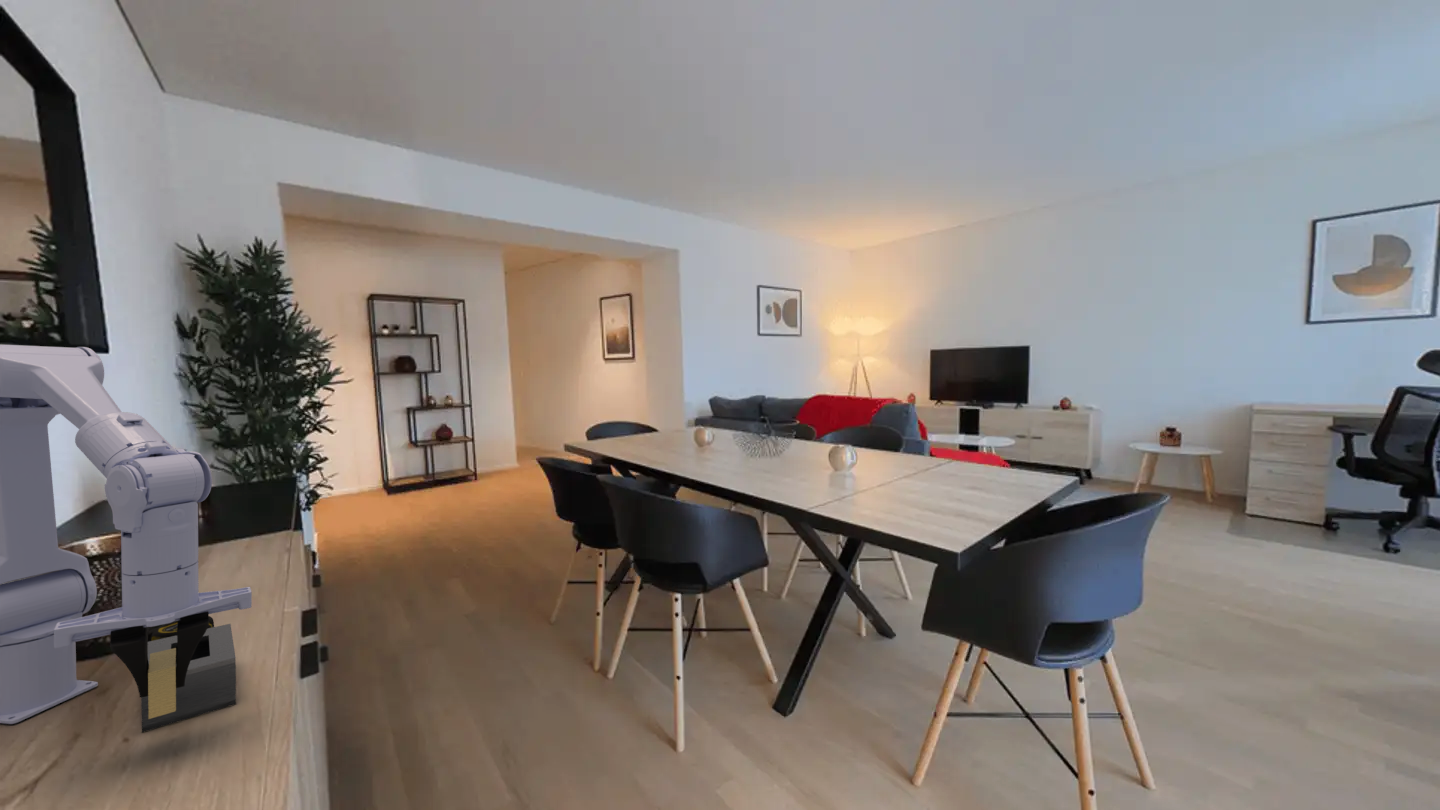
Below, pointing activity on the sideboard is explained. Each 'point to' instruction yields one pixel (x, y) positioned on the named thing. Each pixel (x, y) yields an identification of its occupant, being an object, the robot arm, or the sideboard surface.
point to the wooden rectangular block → (162, 683)
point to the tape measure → (169, 630)
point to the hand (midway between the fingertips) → (162, 687)
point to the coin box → (199, 678)
